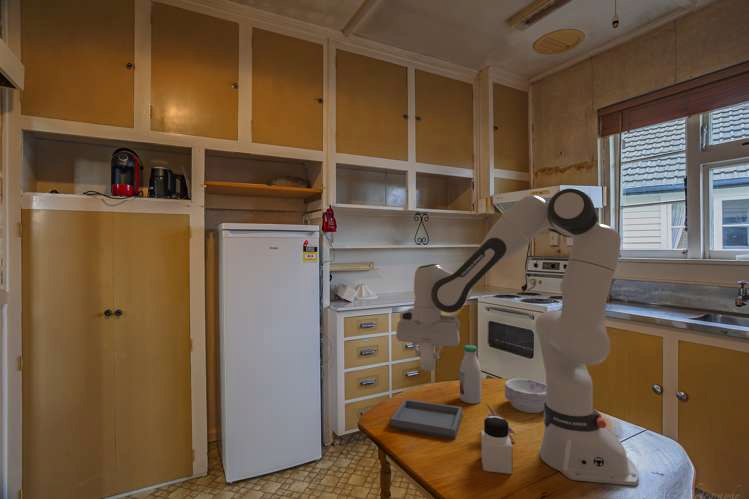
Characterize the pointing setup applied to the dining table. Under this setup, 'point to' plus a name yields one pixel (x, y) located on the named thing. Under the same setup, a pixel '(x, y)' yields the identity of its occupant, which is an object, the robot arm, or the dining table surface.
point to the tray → (427, 418)
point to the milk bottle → (470, 376)
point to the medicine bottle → (496, 446)
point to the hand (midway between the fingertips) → (427, 356)
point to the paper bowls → (526, 394)
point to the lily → (497, 416)
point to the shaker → (427, 355)
